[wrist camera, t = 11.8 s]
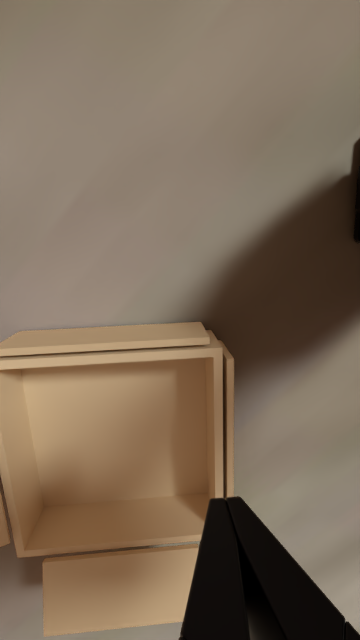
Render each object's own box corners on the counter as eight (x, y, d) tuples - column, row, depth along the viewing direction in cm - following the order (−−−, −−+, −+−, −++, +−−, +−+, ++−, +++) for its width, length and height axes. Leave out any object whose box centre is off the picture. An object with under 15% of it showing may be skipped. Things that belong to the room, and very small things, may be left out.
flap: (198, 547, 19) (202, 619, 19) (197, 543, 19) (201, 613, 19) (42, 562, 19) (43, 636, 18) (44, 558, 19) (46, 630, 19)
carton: (220, 320, 20) (234, 335, 17) (221, 491, 23) (233, 537, 20) (9, 330, 19) (-25, 350, 16) (40, 507, 23) (17, 558, 19)
